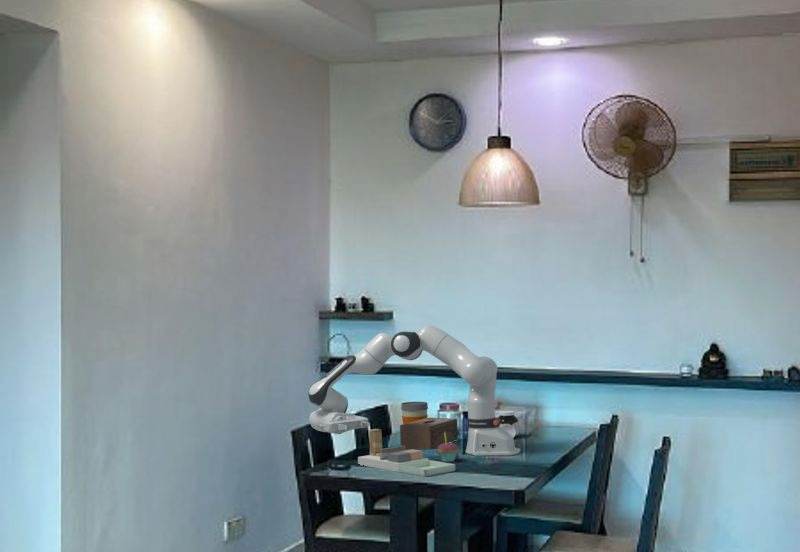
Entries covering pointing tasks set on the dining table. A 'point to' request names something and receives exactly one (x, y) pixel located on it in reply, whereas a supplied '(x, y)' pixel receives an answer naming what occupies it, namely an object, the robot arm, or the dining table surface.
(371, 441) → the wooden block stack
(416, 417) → the reusable coffee cup
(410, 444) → the tissue box cover
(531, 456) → the dining table surface
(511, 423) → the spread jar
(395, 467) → the slab
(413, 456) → the terracotta tile
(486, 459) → the dining table surface
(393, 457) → the charcoal tile
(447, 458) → the cupcake
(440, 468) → the tray
